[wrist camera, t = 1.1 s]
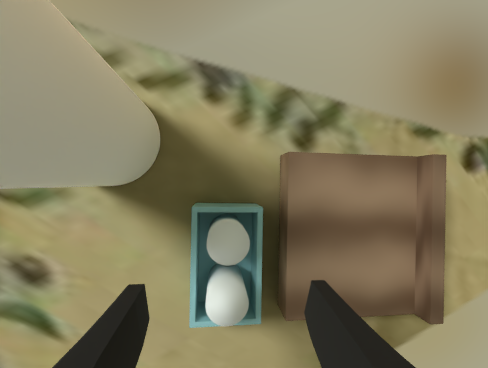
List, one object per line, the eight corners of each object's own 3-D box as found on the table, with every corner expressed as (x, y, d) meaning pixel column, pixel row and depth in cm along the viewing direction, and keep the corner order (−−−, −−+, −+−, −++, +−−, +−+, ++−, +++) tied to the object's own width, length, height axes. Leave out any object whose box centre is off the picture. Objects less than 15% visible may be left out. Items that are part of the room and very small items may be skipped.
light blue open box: (253, 300, 21) (264, 336, 16) (194, 303, 20) (186, 341, 15) (255, 203, 21) (267, 209, 16) (196, 202, 20) (189, 209, 15)
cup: (141, 78, 20) (-177, -358, 4) (174, 167, 20) (9, 106, 4) (43, 107, 19) (-900, -308, 3) (80, 199, 19) (-583, 277, 3)
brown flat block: (403, 299, 23) (443, 323, 19) (277, 304, 21) (291, 332, 17) (406, 160, 23) (446, 154, 19) (280, 155, 21) (295, 149, 17)
